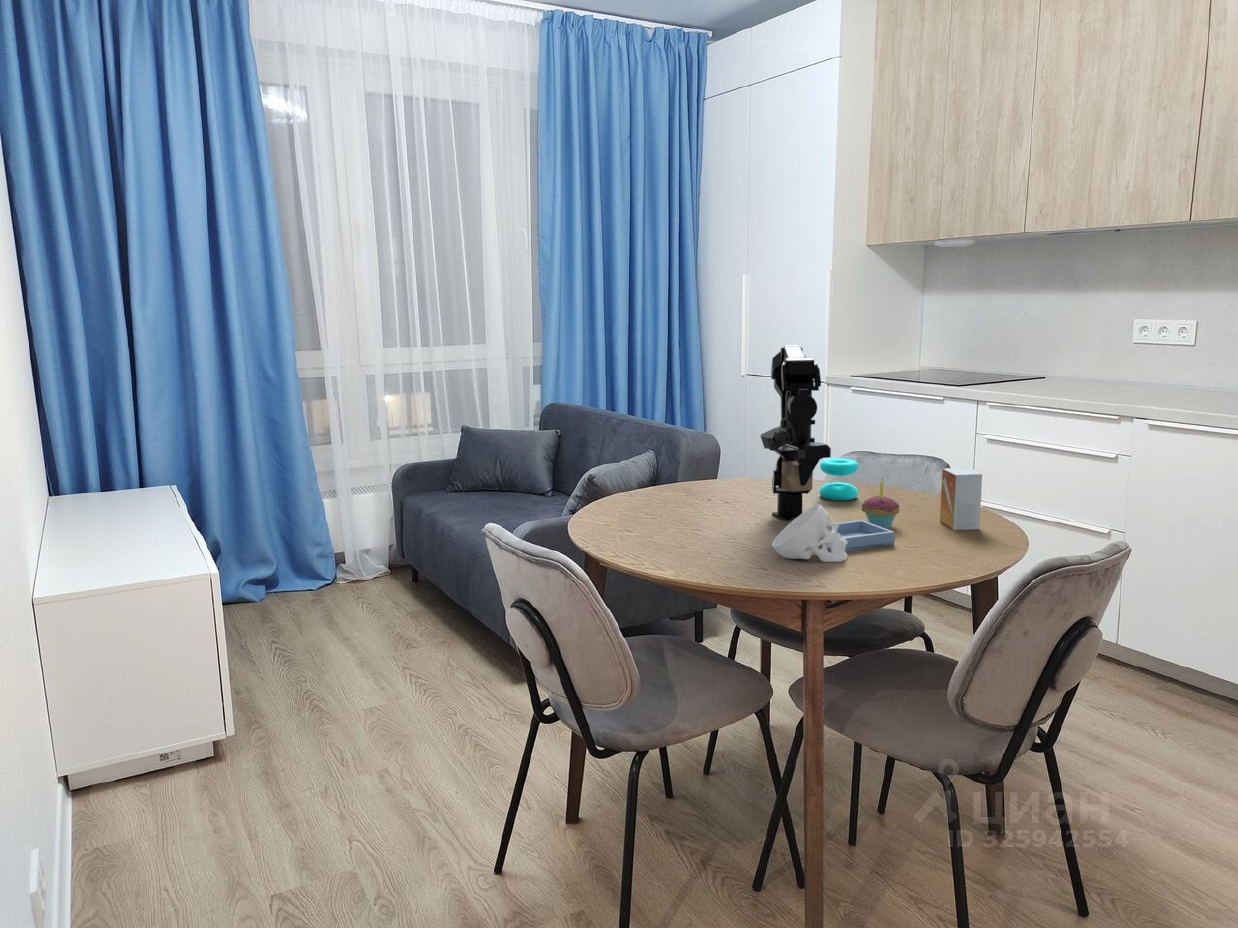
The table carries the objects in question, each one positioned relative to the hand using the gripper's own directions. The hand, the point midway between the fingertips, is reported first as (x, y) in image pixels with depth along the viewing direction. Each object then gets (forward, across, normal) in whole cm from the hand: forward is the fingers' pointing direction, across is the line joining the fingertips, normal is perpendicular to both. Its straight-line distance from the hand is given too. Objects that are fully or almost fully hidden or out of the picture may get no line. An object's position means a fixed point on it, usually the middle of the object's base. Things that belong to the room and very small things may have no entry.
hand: (797, 483), depth 205 cm
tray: (+12, +11, +8) cm, 18 cm away
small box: (+12, +8, +38) cm, 41 cm away
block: (+1, 0, 0) cm, 1 cm away
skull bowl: (+12, +18, -7) cm, 22 cm away
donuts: (+12, -29, +29) cm, 43 cm away
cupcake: (+12, +2, +21) cm, 24 cm away
